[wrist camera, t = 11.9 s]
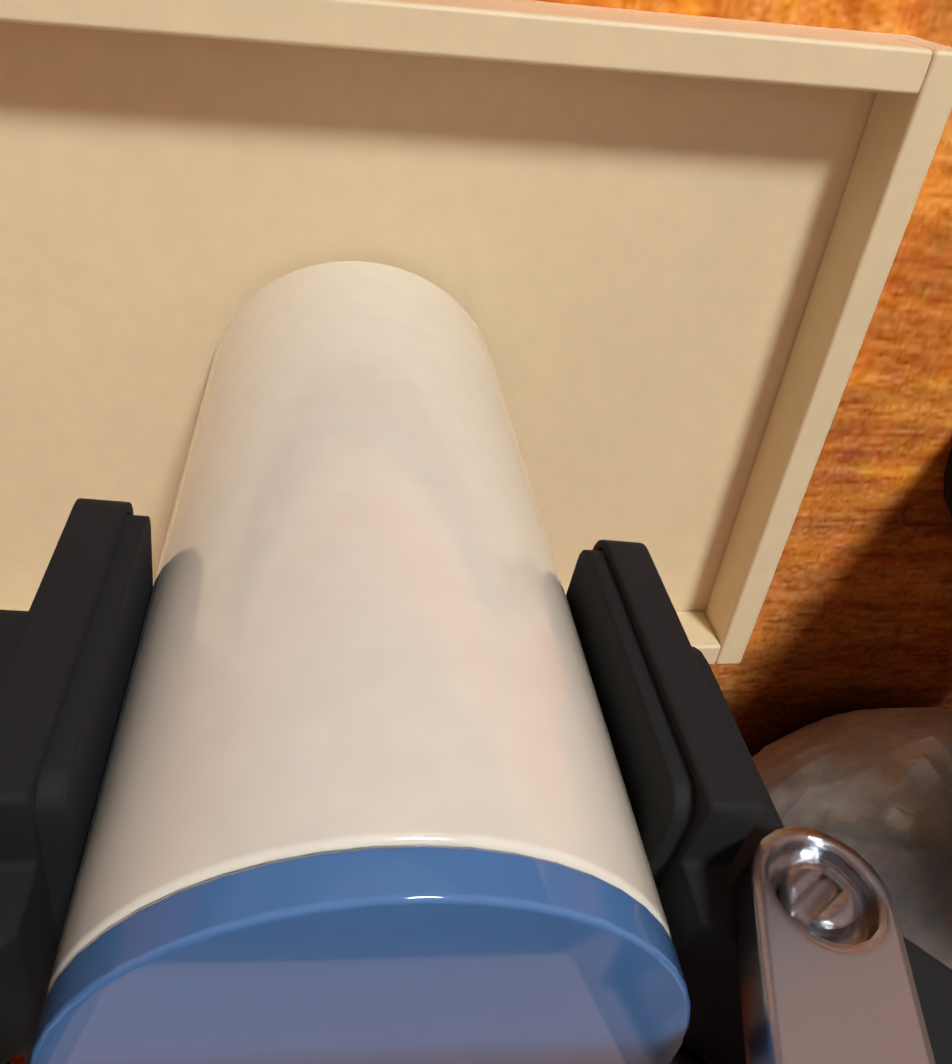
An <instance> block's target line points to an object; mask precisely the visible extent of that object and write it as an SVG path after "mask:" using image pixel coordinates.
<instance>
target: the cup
mask: <svg viewBox="0 0 952 1064" xmlns="http://www.w3.org/2000/svg"><path fill="white" fill-rule="evenodd" d="M944 498H945V500H946V503H947V506H948V508H949V511H950V514H951V516H952V450H951V453H950V457H949V460H948V464H947V467H946V471H945V474H944Z"/></svg>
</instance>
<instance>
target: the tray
mask: <svg viewBox="0 0 952 1064" xmlns="http://www.w3.org/2000/svg"><path fill="white" fill-rule="evenodd" d="M951 109H952V47H949V46H945V45H942V44H938V43H935V42H931V41H928V40H924V39H922V38H918V37H915V36H911V35H901V34H890V33H879V32H869V31H858V30H847V29H836V28H825V27H814V26H803V25H793V24H782V23H771V22H760V21H749V20H738V19H727V18H717V17H706V16H695V15H684V14H673V13H662V12H651V11H641V10H630V9H619V8H608V7H597V6H586V5H575V4H564V3H554V2H543V1H532V0H0V610H18V611H29V609H30V607H31V605H32V602H33V600H34V598H35V595H36V593H37V590H38V588H39V586H40V583H41V581H42V579H43V576H44V574H45V572H46V569H47V567H48V564H49V562H50V560H51V557H52V555H53V553H54V550H55V548H56V546H57V543H58V541H59V538H60V536H61V534H62V531H63V529H64V527H65V524H66V522H67V520H68V517H69V515H70V512H71V510H72V508H73V505H74V504H75V502H76V500H77V499H79V498H86V499H98V500H111V501H123V502H130V503H131V504H132V507H133V514H134V515H141V516H149V517H150V522H151V543H152V570H153V586H154V582H155V579H156V575H157V571H158V567H159V563H160V560H161V556H162V552H163V548H164V544H165V541H166V537H167V533H168V529H169V525H170V522H171V518H172V514H173V510H174V506H175V503H176V499H177V495H178V491H179V487H180V484H181V480H182V476H183V472H184V468H185V465H186V461H187V457H188V453H189V449H190V446H191V442H192V438H193V434H194V430H195V427H196V423H197V419H198V415H199V411H200V408H201V404H202V400H203V396H204V392H205V389H206V385H207V381H208V377H209V373H210V370H211V366H212V362H213V358H214V354H215V351H216V348H217V345H218V343H219V341H220V338H221V336H222V334H223V332H224V330H225V329H226V327H227V325H228V324H229V322H230V321H231V319H232V317H233V316H234V315H235V314H236V313H237V311H238V310H239V309H240V308H241V307H242V306H243V304H244V303H245V302H246V301H248V300H249V299H250V298H251V297H252V296H253V295H255V294H256V293H257V292H258V291H259V290H261V289H262V288H264V287H265V286H267V285H268V284H270V283H271V282H273V281H275V280H276V279H278V278H280V277H283V276H285V275H287V274H289V273H291V272H293V271H296V270H299V269H303V268H306V267H309V266H312V265H317V264H323V263H329V262H337V261H363V262H374V263H379V264H384V265H389V266H393V267H397V268H399V269H402V270H405V271H408V272H411V273H414V274H416V275H418V276H420V277H422V278H424V279H426V280H427V281H429V282H431V283H433V284H434V285H436V286H437V287H439V288H440V289H442V290H443V291H445V292H446V293H448V294H449V295H450V296H451V297H452V298H453V299H454V300H455V301H456V302H458V303H459V304H460V305H461V306H462V307H463V308H464V310H465V311H466V312H467V313H468V314H469V316H470V317H471V318H472V319H473V320H474V322H475V323H476V325H477V327H478V328H479V330H480V331H481V333H482V335H483V337H484V339H485V341H486V343H487V346H488V348H489V350H490V353H491V356H492V359H493V363H494V366H495V369H496V372H497V375H498V379H499V382H500V385H501V388H502V392H503V395H504V398H505V401H506V404H507V408H508V411H509V414H510V417H511V421H512V424H513V427H514V430H515V433H516V437H517V440H518V443H519V446H520V450H521V453H522V456H523V459H524V462H525V466H526V469H527V472H528V475H529V479H530V482H531V485H532V488H533V492H534V495H535V498H536V501H537V504H538V508H539V511H540V514H541V517H542V521H543V524H544V527H545V530H546V533H547V537H548V540H549V543H550V546H551V550H552V553H553V556H554V559H555V562H556V566H557V569H558V572H559V575H560V579H561V582H562V585H563V588H564V591H565V595H566V593H567V590H568V587H569V584H570V581H571V578H572V575H573V572H574V569H575V566H576V563H577V560H578V557H579V555H580V553H581V552H582V550H593V548H594V545H595V544H596V543H597V542H598V541H599V540H614V541H626V542H638V543H642V544H644V545H645V546H646V547H647V549H648V551H649V553H650V555H651V558H652V560H653V562H654V564H655V566H656V569H657V571H658V573H659V575H660V577H661V580H662V582H663V584H664V586H665V589H666V591H667V593H668V595H669V597H670V600H671V602H672V604H673V606H674V609H675V611H676V613H677V615H678V617H679V620H680V622H681V624H682V626H683V628H684V631H685V633H686V635H687V637H688V640H689V642H690V644H691V646H692V647H696V648H697V649H698V650H700V651H701V652H702V653H703V655H704V657H705V658H706V660H707V661H708V664H709V665H713V664H715V662H716V664H739V663H740V662H741V660H742V657H743V654H744V652H745V649H746V646H747V644H748V641H749V639H750V636H751V633H752V631H753V628H754V625H755V623H756V620H757V618H758V615H759V612H760V610H761V607H762V604H763V602H764V599H765V597H766V594H767V591H768V589H769V586H770V583H771V581H772V578H773V576H774V573H775V570H776V568H777V565H778V562H779V560H780V557H781V555H782V552H783V549H784V547H785V544H786V542H787V539H788V536H789V534H790V531H791V528H792V526H793V523H794V521H795V518H796V515H797V513H798V510H799V507H800V505H801V502H802V500H803V497H804V494H805V492H806V489H807V486H808V484H809V481H810V479H811V476H812V473H813V471H814V468H815V465H816V463H817V460H818V458H819V455H820V452H821V450H822V447H823V444H824V442H825V439H826V437H827V434H828V431H829V429H830V426H831V424H832V421H833V418H834V416H835V413H836V410H837V408H838V405H839V403H840V400H841V397H842V395H843V392H844V389H845V387H846V384H847V382H848V379H849V376H850V374H851V371H852V368H853V366H854V363H855V361H856V358H857V355H858V353H859V350H860V347H861V345H862V342H863V340H864V337H865V334H866V332H867V329H868V326H869V324H870V321H871V319H872V316H873V313H874V311H875V308H876V305H877V303H878V300H879V298H880V295H881V292H882V290H883V287H884V285H885V282H886V279H887V277H888V274H889V271H890V269H891V266H892V264H893V261H894V258H895V256H896V253H897V250H898V248H899V245H900V243H901V240H902V237H903V235H904V232H905V229H906V227H907V224H908V222H909V219H910V216H911V214H912V211H913V208H914V206H915V203H916V201H917V198H918V195H919V193H920V190H921V187H922V185H923V182H924V180H925V177H926V174H927V172H928V169H929V167H930V164H931V161H932V159H933V156H934V153H935V151H936V148H937V146H938V143H939V140H940V138H941V135H942V132H943V130H944V127H945V125H946V122H947V119H948V117H949V114H950V111H951Z"/></svg>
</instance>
